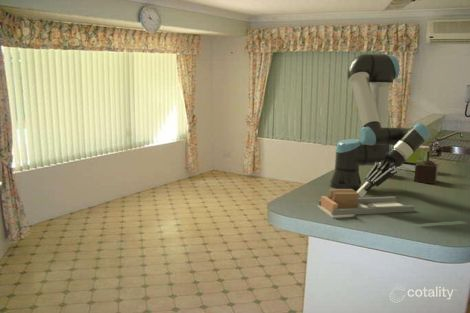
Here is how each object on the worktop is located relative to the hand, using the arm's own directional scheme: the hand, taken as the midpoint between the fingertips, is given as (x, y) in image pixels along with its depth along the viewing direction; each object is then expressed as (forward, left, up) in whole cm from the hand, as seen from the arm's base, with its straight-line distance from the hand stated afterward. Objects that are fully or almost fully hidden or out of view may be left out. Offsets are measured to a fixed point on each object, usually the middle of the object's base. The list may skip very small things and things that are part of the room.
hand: (358, 195), depth 169 cm
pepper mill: (-41, +64, -7) cm, 76 cm away
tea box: (-66, +73, -7) cm, 99 cm away
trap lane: (0, +3, -6) cm, 7 cm away
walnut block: (-1, -6, -5) cm, 8 cm away
